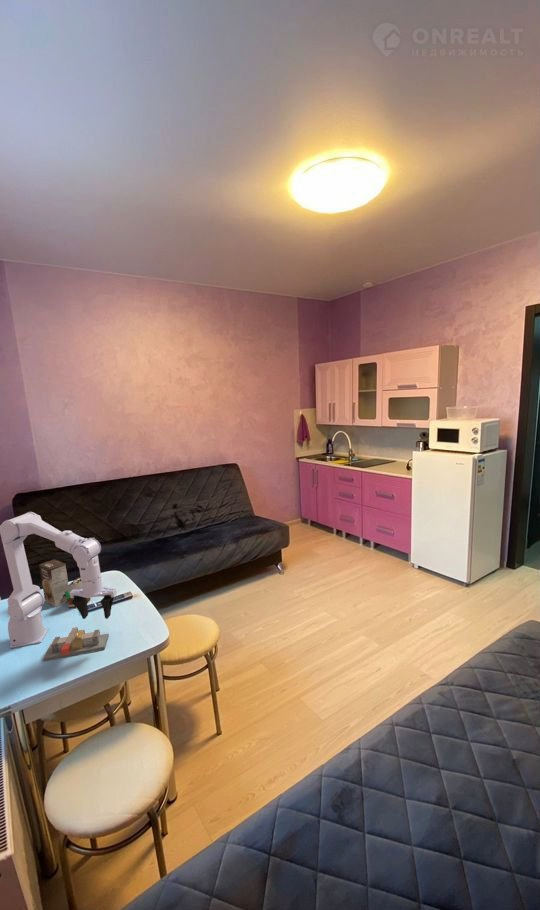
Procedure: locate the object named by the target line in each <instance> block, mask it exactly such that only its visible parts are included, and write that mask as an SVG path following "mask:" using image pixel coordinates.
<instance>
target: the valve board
mask: <svg viewBox="0 0 540 910" xmlns="http://www.w3.org/2000/svg"><path fill="white" fill-rule="evenodd" d="M100 636H101V640H100V643H99V644H98V645H95V646H93V645H89V646H84V647H83V648H81V649H76V650H71V651H70V654H67V655H62V653H61V651H58V653H53V652H52V648H51V643H50V644H49V646H48V647H47V650H46V651H45V654H44V656H43V658H42V660H43V662H46V661H51V660H56V659H62V658H67V657H72V656H73V657H74V656H78V655H83V654H88V653H92V652H97V651H103V650H105V649H106V646H107V643H108V640H109V637H110V635H109V633H103V634H100Z"/></svg>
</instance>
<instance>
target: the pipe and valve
mask: <svg viewBox="0 0 540 910" xmlns="http://www.w3.org/2000/svg"><path fill="white" fill-rule="evenodd" d="M85 631H86V630H85V629H80V630H79V629H78V634H77V635H76V637H75V639H74V642H73V644H72V649H71V650H76V649H81V648H83V647H84V646H89V645H93V646H95V645H98V644H99V643H100V640H101V636H100V635H101V630H100V629H95V630H94V631H91V632H85ZM69 635H70V632H69V633H68V635H67V636H65V637H60V636H56V637H54V639H52V641H51V643H50V644H51V648H52V652H53V653H58V651H61V649H62V647H63V645H64V644H65V643H66V641H67V639H68V637H69Z"/></svg>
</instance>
